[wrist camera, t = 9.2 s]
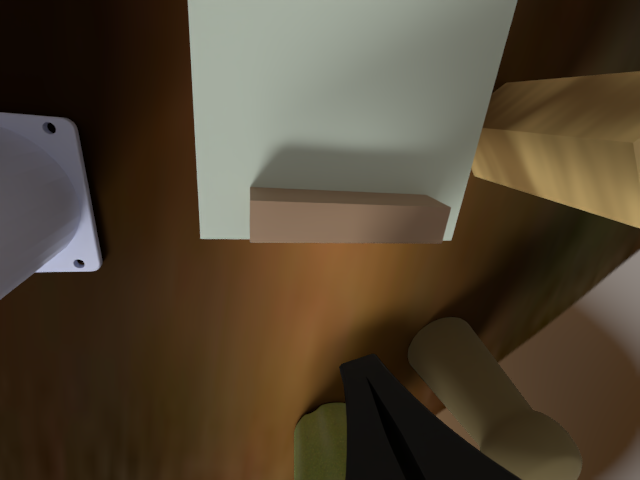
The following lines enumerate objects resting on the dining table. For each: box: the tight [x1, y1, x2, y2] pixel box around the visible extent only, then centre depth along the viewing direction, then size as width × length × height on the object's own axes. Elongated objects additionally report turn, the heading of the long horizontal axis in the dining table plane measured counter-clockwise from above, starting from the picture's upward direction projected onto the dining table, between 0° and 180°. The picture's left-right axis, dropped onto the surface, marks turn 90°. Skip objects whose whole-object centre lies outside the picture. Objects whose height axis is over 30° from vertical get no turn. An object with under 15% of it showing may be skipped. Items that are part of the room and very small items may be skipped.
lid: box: [188, 0, 517, 243], centre depth 11 cm, size 12×14×3 cm
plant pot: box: [294, 403, 347, 480], centre depth 24 cm, size 9×9×9 cm
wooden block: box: [471, 71, 640, 228], centre depth 15 cm, size 4×4×10 cm
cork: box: [407, 317, 582, 480], centre depth 22 cm, size 6×6×11 cm
